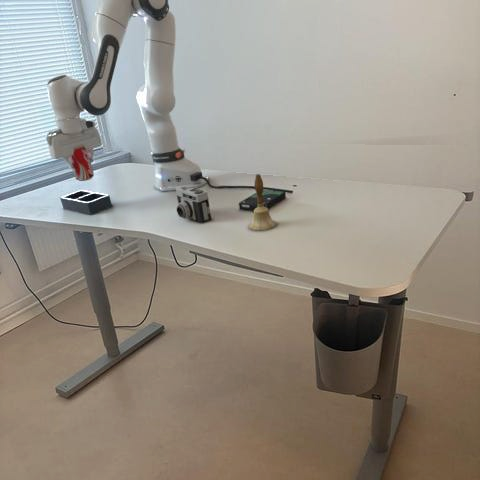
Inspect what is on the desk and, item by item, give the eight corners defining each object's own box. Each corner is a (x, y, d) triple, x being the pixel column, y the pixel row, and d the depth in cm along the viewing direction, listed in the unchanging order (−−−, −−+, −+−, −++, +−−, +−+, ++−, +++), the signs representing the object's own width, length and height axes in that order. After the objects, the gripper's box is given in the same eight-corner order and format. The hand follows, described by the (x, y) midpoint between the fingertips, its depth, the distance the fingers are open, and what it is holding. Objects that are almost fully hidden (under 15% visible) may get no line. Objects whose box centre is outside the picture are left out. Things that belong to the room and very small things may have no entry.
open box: (112, 206, 192) (109, 194, 190) (90, 215, 186) (87, 203, 184) (84, 200, 204) (81, 189, 201) (63, 208, 198) (59, 197, 195)
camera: (170, 218, 171) (165, 190, 166) (190, 211, 175) (185, 183, 170) (192, 227, 161) (186, 197, 156) (212, 219, 165) (208, 190, 160)
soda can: (89, 181, 182) (80, 148, 176) (72, 182, 184) (62, 149, 178) (98, 175, 188) (89, 143, 182) (81, 177, 190) (72, 145, 184)
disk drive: (264, 213, 164) (286, 198, 174) (263, 205, 162) (285, 190, 172) (239, 210, 169) (261, 196, 179) (238, 202, 168) (260, 188, 178)
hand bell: (257, 220, 159) (251, 170, 151) (280, 222, 155) (276, 171, 147) (244, 229, 153) (238, 178, 145) (268, 231, 149) (263, 179, 141)
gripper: (49, 133, 168) (62, 173, 175) (98, 120, 180) (108, 158, 188) (40, 132, 172) (52, 172, 179) (88, 120, 184) (98, 157, 191)
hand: (81, 165), depth 183 cm, fingers closed on soda can, 7 cm apart
